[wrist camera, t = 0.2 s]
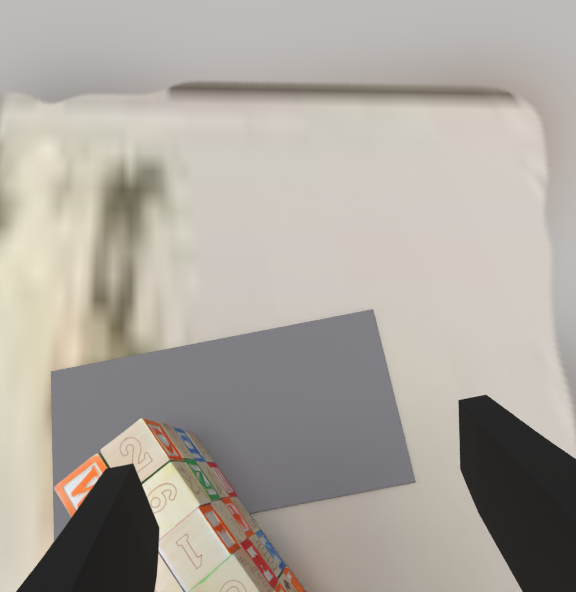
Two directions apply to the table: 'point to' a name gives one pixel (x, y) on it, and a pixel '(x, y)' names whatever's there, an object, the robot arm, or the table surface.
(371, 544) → the table surface
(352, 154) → the table surface
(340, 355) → the mat
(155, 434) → the stack of blocks
